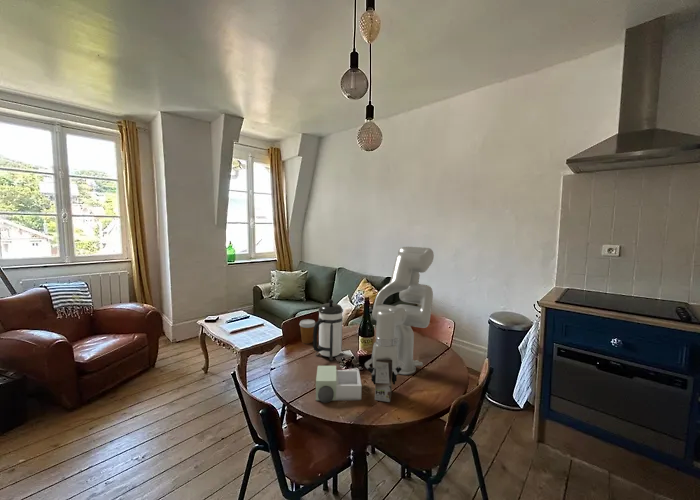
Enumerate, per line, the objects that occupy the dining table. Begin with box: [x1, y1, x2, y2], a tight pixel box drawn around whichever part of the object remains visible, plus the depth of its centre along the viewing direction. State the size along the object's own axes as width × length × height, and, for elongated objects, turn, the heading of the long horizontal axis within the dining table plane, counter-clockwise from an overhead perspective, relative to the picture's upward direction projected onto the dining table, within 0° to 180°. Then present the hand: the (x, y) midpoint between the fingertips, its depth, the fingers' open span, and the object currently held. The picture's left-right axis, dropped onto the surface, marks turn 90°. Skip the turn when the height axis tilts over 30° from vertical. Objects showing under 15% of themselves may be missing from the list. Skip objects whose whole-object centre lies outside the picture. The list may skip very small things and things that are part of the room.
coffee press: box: [312, 299, 345, 362], centre depth 160 cm, size 17×16×30 cm
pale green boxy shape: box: [315, 365, 362, 404], centre depth 128 cm, size 18×16×8 cm
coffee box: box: [374, 360, 393, 403], centre depth 125 cm, size 9×6×16 cm
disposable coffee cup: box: [298, 318, 316, 344], centre depth 180 cm, size 10×10×12 cm
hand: (383, 382), depth 126 cm, fingers closed on coffee box, 7 cm apart
